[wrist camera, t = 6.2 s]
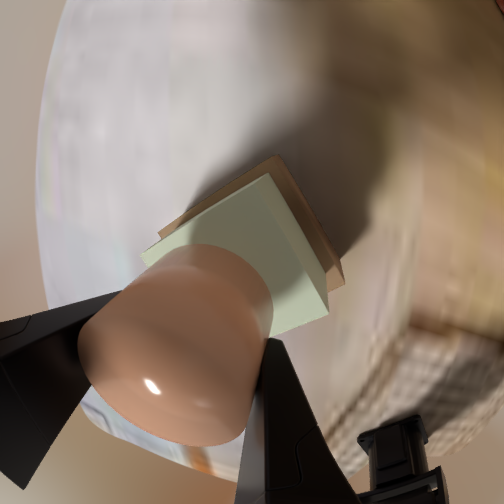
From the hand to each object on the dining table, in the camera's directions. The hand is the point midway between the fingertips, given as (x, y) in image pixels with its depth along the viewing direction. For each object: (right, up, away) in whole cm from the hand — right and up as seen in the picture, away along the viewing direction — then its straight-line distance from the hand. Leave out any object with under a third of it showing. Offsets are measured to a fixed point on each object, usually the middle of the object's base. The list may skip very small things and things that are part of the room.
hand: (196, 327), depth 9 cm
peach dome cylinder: (0, 0, +1) cm, 1 cm away
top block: (+2, +2, +5) cm, 6 cm away
